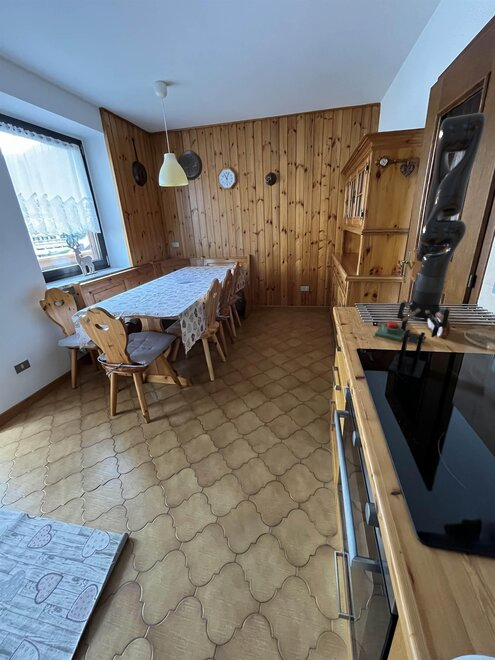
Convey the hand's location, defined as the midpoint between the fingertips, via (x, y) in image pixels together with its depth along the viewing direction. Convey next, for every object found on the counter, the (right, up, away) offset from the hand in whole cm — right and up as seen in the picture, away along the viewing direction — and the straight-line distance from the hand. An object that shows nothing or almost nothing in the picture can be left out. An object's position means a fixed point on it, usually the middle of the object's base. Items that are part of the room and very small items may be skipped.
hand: (418, 333), depth 96 cm
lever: (-4, -3, -4) cm, 6 cm away
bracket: (-6, -11, -3) cm, 13 cm away
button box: (-1, -1, +17) cm, 17 cm away
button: (-1, +2, +15) cm, 15 cm away
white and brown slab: (+17, 0, +17) cm, 24 cm away
